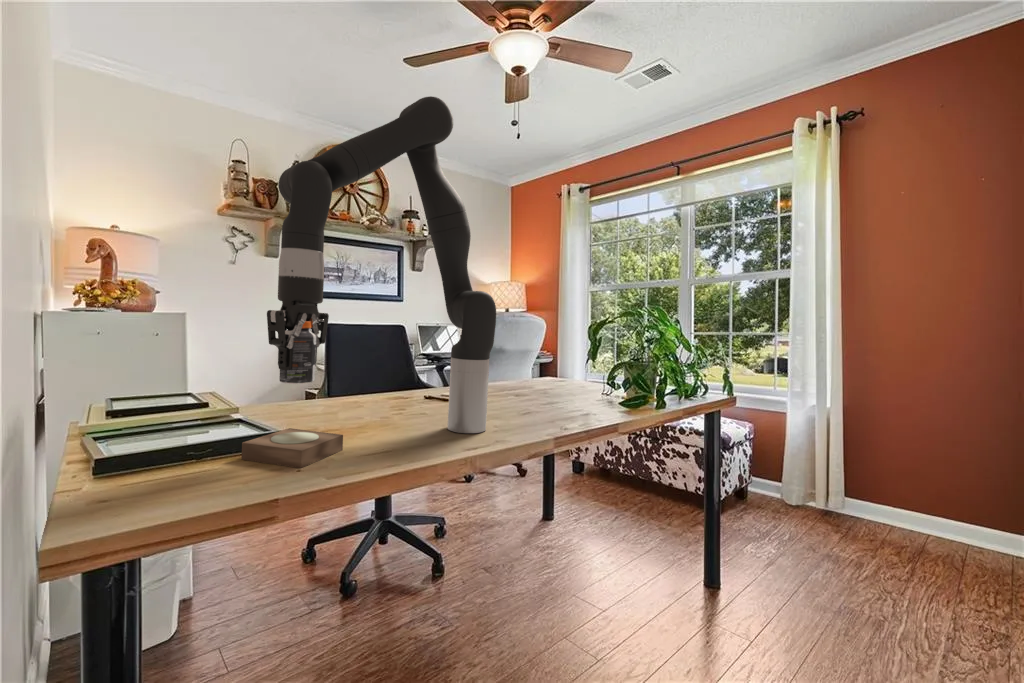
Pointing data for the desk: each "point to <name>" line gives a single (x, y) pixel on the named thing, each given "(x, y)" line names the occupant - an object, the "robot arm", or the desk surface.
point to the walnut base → (292, 447)
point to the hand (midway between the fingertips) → (297, 368)
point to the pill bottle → (302, 358)
